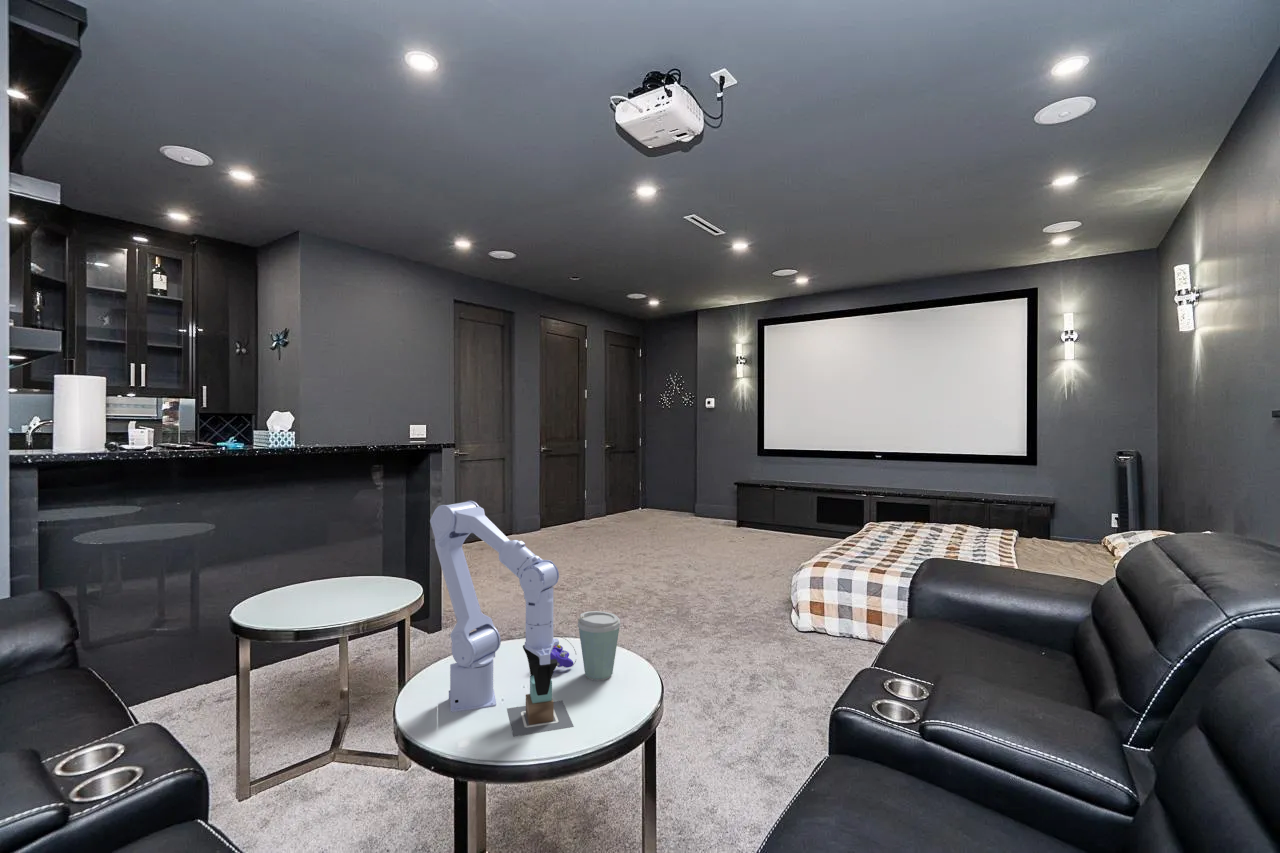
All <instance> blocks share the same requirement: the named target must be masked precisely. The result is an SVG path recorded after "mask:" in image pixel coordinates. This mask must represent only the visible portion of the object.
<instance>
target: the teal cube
mask: <svg viewBox="0 0 1280 853" xmlns="http://www.w3.org/2000/svg"><path fill="white" fill-rule="evenodd" d="M529 694H530V697H531V700H532V703H539V702H546V701H552V699H553V681H552V679H551V682H550V687H549V691H548V694H547V695H540V696H538V695H537V692H536V688H535V680H534V676H531V675H529Z"/></svg>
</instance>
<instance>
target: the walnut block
mask: <svg viewBox="0 0 1280 853" xmlns="http://www.w3.org/2000/svg"><path fill="white" fill-rule="evenodd" d="M554 701H555V700H553V698H552V701H546V702H539V703H532V700H531V697H530V693H527V694H526V693H525V706H526V716H527V720H528V723H529V725H532V724H538V723H544V722H551V721H554Z"/></svg>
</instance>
